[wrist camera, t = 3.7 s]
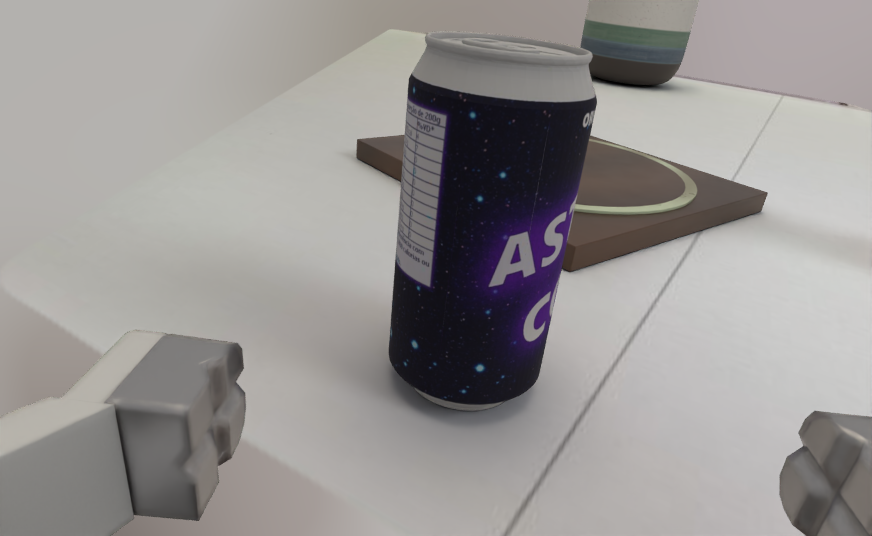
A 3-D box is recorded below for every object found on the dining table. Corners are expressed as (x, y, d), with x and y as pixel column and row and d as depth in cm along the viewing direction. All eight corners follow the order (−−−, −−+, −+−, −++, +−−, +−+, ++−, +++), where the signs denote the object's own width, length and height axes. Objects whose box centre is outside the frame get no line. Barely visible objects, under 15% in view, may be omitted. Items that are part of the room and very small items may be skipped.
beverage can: (474, 450, 19) (538, 61, 14) (355, 370, 22) (371, 28, 17) (563, 378, 23) (639, 55, 18) (452, 319, 26) (488, 29, 21)
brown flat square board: (356, 157, 47) (356, 136, 46) (545, 136, 60) (548, 119, 59) (569, 272, 32) (576, 243, 31) (761, 211, 45) (769, 189, 44)
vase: (689, 87, 104) (733, -70, 94) (651, 94, 92) (696, -85, 82) (601, 70, 114) (632, -74, 103) (556, 75, 102) (586, -88, 91)
